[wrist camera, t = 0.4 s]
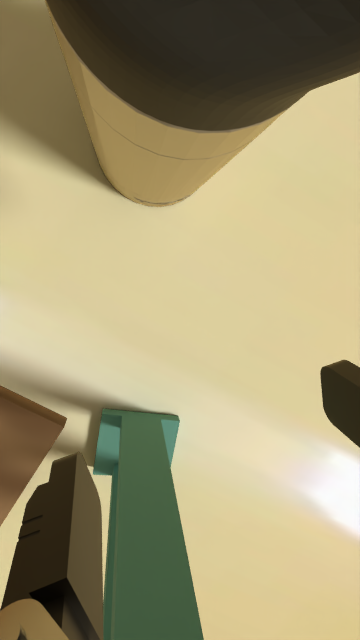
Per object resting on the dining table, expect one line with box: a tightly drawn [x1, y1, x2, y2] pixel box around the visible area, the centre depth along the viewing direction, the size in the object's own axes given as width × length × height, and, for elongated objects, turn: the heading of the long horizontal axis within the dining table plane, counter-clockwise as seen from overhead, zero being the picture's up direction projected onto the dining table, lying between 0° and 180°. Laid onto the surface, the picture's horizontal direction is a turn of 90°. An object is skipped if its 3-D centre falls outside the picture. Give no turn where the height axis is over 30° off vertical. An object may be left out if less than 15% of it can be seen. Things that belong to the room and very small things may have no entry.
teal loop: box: [93, 409, 204, 640], centre depth 21 cm, size 6×7×20 cm
